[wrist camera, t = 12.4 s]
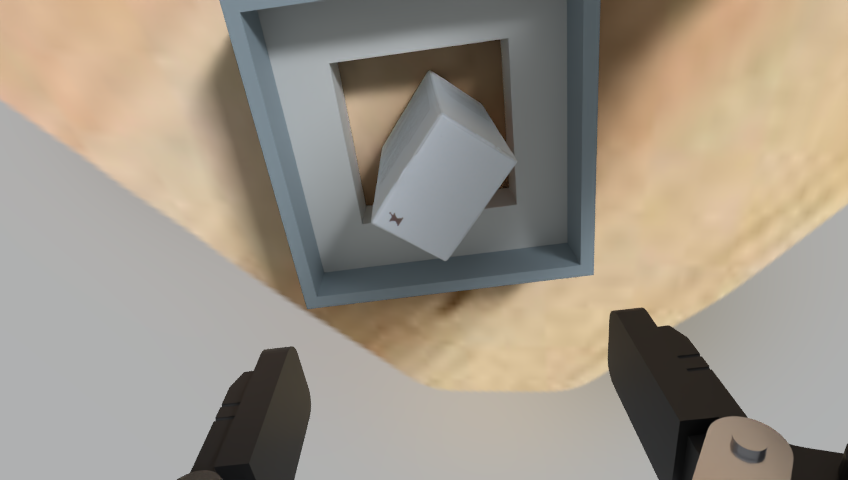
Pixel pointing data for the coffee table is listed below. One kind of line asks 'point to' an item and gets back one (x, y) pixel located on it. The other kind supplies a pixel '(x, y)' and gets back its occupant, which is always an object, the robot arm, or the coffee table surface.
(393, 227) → the skincare box
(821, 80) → the coffee table surface
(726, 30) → the coffee table surface
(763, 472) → the robot arm
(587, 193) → the bore box
